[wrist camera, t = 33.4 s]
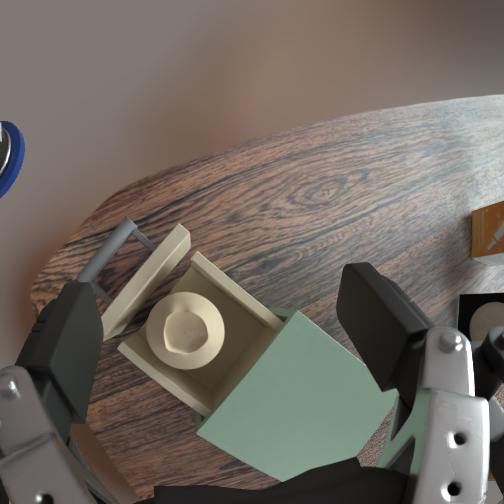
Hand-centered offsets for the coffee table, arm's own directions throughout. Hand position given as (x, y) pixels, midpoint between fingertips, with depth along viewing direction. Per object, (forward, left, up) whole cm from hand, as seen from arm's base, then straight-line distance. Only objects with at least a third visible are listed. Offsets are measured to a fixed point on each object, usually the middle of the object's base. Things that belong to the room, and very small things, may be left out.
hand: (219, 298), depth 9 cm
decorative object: (+35, +20, -23) cm, 46 cm away
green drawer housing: (+13, -3, -23) cm, 26 cm away
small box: (+29, +33, -23) cm, 50 cm away
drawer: (-1, -3, -22) cm, 22 cm away
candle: (0, -3, -21) cm, 21 cm away
